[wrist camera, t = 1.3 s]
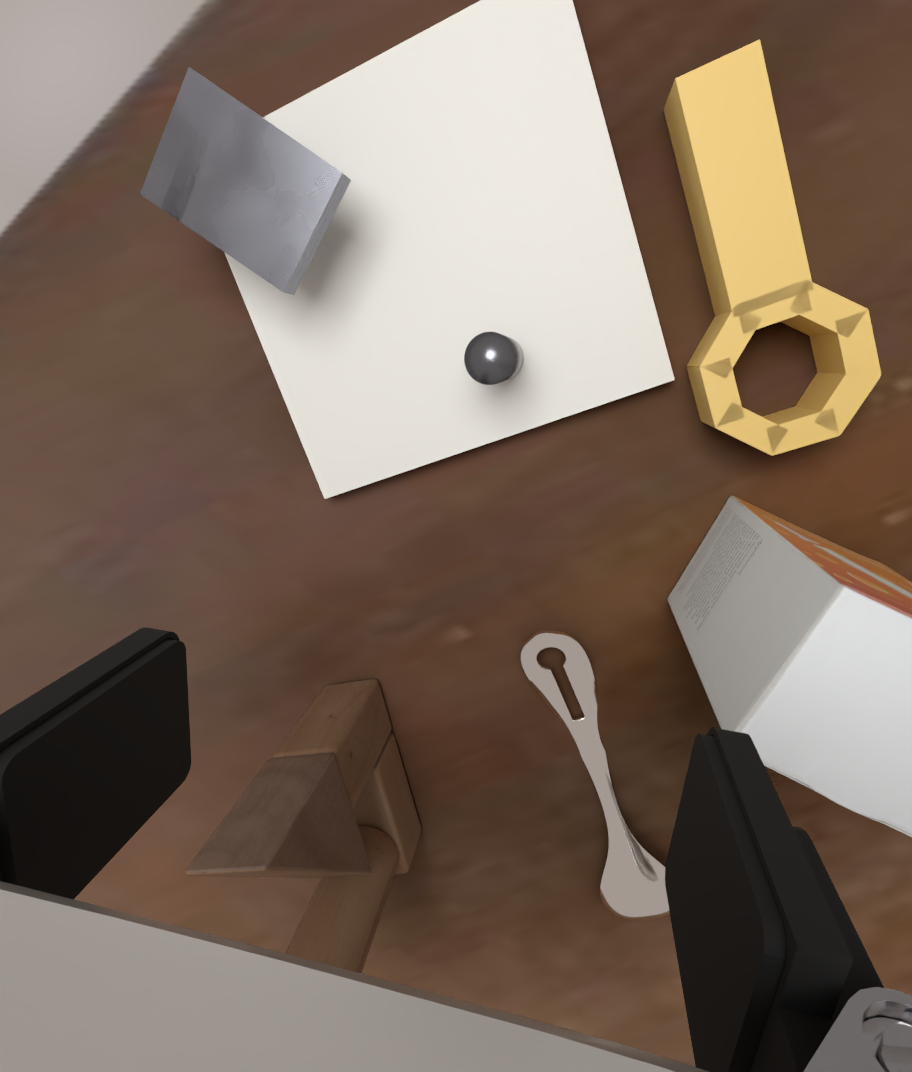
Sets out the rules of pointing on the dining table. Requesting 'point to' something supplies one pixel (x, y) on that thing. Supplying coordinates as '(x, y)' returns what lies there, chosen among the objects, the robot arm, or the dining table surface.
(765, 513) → the small box
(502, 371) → the pin
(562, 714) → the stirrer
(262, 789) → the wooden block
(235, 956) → the robot arm
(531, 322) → the board
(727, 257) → the link
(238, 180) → the block
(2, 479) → the dining table surface
